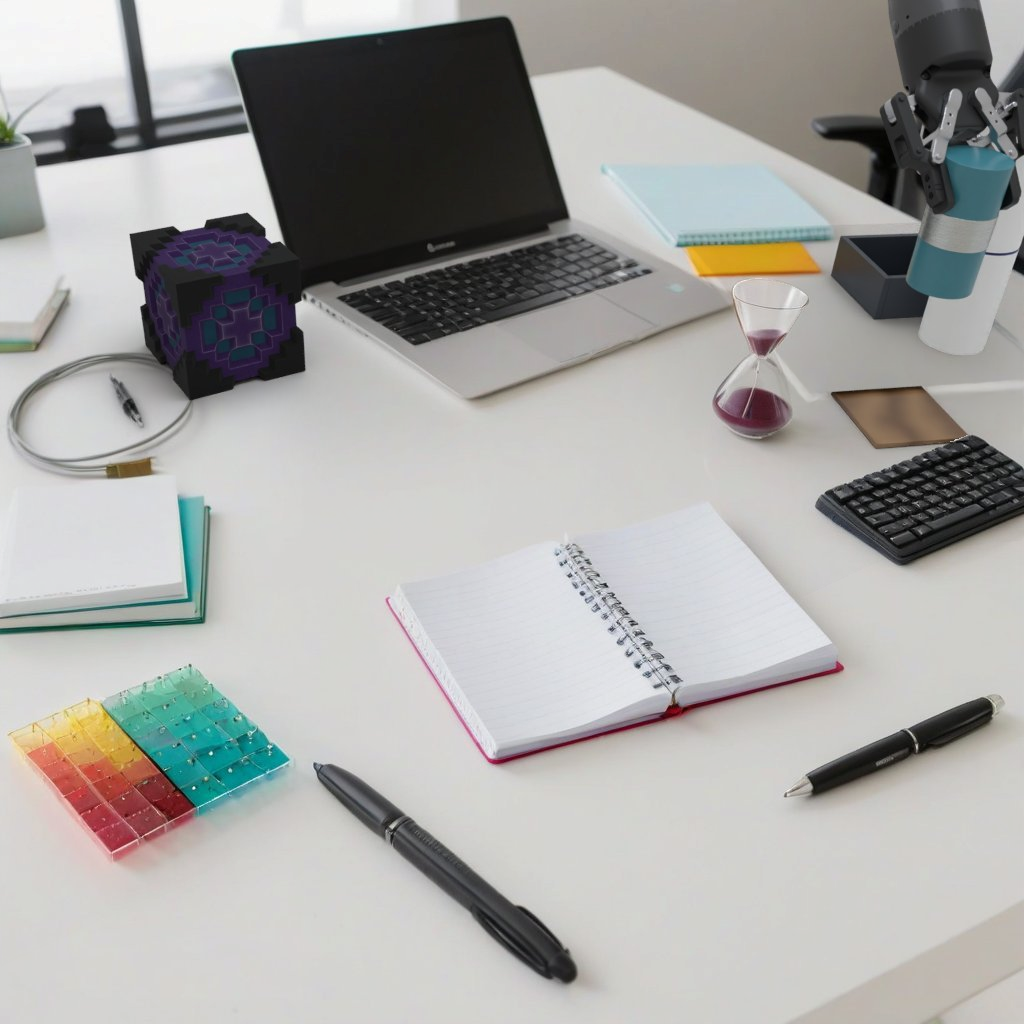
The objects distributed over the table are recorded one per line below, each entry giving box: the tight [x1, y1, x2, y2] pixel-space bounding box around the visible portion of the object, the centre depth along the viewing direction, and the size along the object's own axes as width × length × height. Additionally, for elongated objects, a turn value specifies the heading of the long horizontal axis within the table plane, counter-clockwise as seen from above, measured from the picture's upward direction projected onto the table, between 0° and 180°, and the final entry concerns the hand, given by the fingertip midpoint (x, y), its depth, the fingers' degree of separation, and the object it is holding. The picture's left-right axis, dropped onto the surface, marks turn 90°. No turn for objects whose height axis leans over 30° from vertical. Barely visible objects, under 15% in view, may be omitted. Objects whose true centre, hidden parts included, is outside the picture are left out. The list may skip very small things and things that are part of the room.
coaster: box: [830, 385, 969, 449], centre depth 115 cm, size 10×10×1 cm
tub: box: [830, 232, 929, 321], centre depth 134 cm, size 11×11×6 cm
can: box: [906, 144, 1015, 299], centre depth 103 cm, size 6×6×12 cm
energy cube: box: [129, 212, 306, 401], centre depth 112 cm, size 12×12×12 cm
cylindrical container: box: [917, 109, 1024, 356], centre depth 120 cm, size 7×7×25 cm
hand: (977, 208), depth 100 cm, fingers closed on can, 6 cm apart
